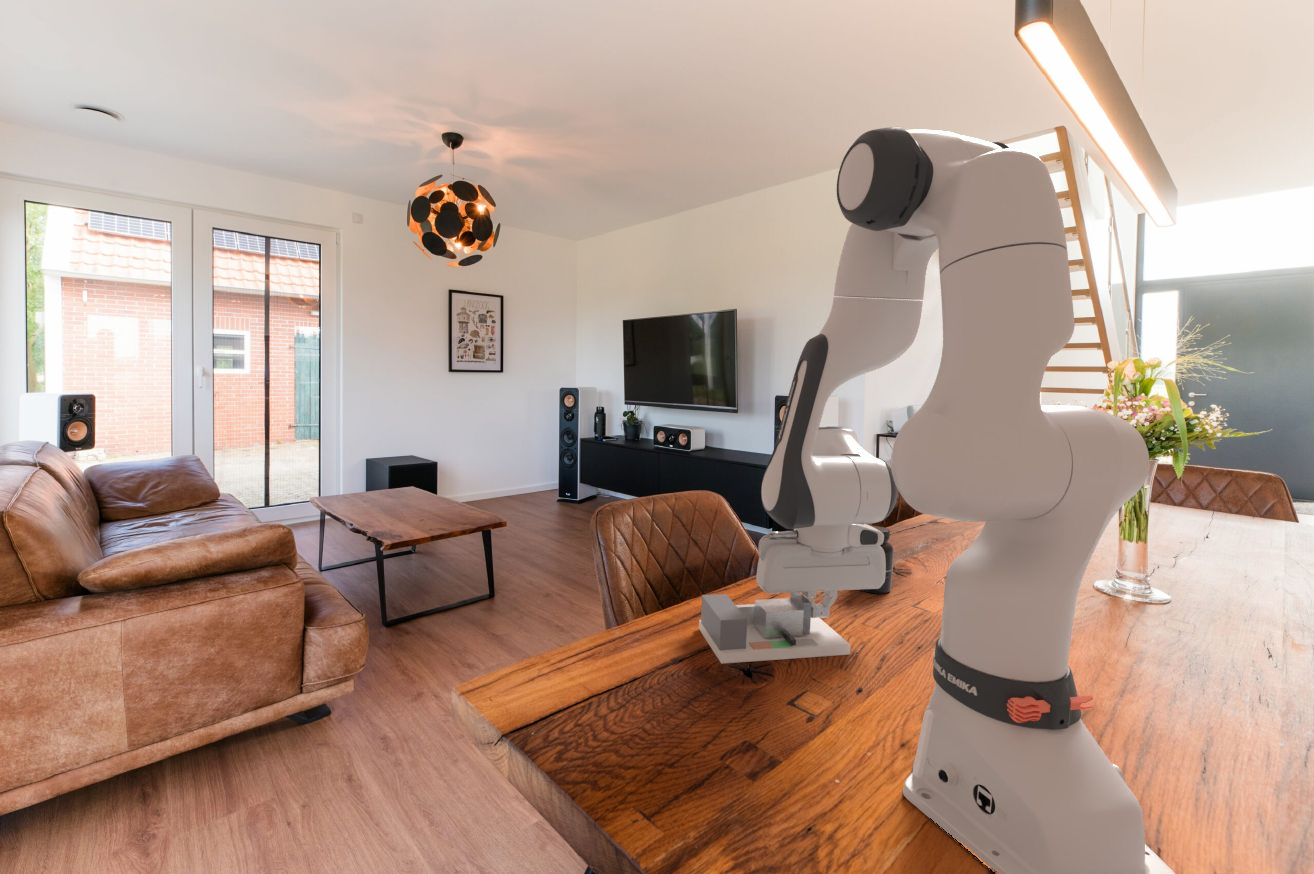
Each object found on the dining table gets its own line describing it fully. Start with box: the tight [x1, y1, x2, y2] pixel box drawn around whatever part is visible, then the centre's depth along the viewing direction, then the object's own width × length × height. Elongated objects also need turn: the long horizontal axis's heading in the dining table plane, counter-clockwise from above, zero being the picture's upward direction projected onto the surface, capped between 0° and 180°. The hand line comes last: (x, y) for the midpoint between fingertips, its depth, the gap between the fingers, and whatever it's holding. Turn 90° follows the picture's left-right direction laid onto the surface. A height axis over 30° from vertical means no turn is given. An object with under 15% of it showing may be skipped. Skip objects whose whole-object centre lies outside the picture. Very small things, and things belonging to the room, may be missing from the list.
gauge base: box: [698, 593, 852, 664], centre depth 96 cm, size 12×20×6 cm, turn 102°
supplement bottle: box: [858, 525, 895, 595], centre depth 121 cm, size 7×7×12 cm
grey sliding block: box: [753, 592, 811, 646], centre depth 94 cm, size 8×7×5 cm
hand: (818, 616), depth 97 cm, fingers closed
